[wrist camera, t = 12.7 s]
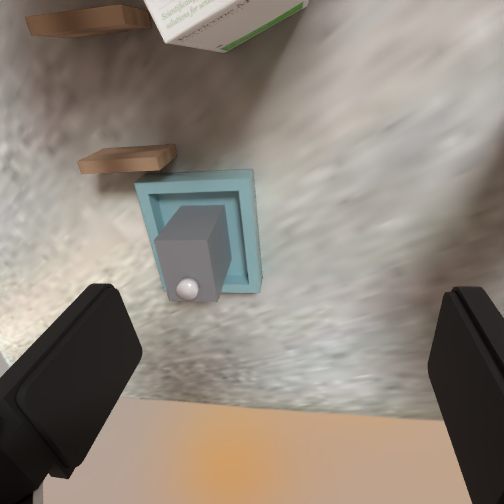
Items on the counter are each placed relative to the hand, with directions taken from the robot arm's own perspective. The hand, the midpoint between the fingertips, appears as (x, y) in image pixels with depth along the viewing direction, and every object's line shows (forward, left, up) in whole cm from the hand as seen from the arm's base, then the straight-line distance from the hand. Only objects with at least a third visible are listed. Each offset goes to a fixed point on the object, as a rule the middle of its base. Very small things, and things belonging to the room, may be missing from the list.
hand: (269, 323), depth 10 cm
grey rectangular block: (+10, +10, -25) cm, 29 cm away
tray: (+10, +10, -26) cm, 30 cm away
